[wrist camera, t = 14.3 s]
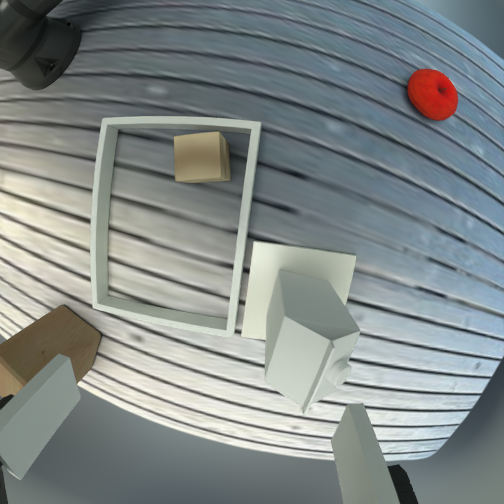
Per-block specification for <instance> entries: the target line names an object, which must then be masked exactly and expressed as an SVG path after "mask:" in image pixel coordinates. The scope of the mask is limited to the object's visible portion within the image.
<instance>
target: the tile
mask: <svg viewBox="0 0 504 504" xmlns="http://www.w3.org/2000/svg"><path fill="white" fill-rule="evenodd" d="M356 257H357V256H356V255H353V254H346V253H340V252H333V251H326V250H319V249H312V248H305V247H298V246H291V245H284V244H277V243H270V242H263V241H256V240H254V245H253V252H252V260H251V267H250V275H249V282H248V290H247V297H246V305H245V312H244V319H243V327H242V334H241V337H247V338H254V339H262V340H266V315H267V311H268V307H269V303H270V300H271V296H272V292H273V288H274V285H275V281H276V277H277V273H278V270H283V271H287V272H291V273H296V274H300V275H305V276H309V277H314V278H318V279H322V280H327V281H329V282H330V284H331V285H332V287H333V288H334V290H335V291H336V293H337V294H338V296H339V297H340V299H341V300H342V302H343V304H344V305H345V306H346V302H347V298H348V294H349V289H350V285H351V280H352V276H353V271H354V267H355V262H356Z"/></svg>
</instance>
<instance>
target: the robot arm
mask: <svg viewBox="0 0 504 504" xmlns="http://www.w3.org/2000/svg"><path fill="white" fill-rule="evenodd" d="M62 1H63V0H0V68H1V69H4V70H7V71H9V72H11V73H12V74H13V75H14V76H15V77H16V78H17V79H18V80H19V81H20V82H21V84H22V85H23V86H25V87H27V88H30V89H33V90H39V89H43V88H45V87H47V86H48V85H50V84H51V83H52V82H54V81H55V80H56V79H57V78H58V77H59V76H60V75H61V74H62V73H63V72H64V70H65V69H66V68H67V67H68V65H69V64H70V62H71V61H72V59H73V57H74V55H75V53H76V51H77V49H78V46H79V43H80V38H81V32H80V28H79V27H78V26H77V25H76V24H75V23H73V22H72V21H70V20H67V19H61V18H55V17H48V16H46V15H47V14H48V13H49V12H50V11H51V10H52V9H53V8H55V7H56V6H57V5H58V4H59V3H60V2H62ZM80 398H81V396H80V393H79V390H78V386H77V383H76V379H75V376H74V372H73V368H72V364H71V360H70V358H69V357H67V356H64V355H61V354H58V355H57V356H55V357H54V358H53V359H52V360H51V361H50V362H49V363H48V364H47V365H46V366H45V367H44V368H43V369H42V370H41V371H40V372H38V373H37V374H36V375H35V376H34V377H33V378H32V379H31V380H30V381H29V382H28V383H27V384H26V385H25V386H24V387H23V388H22V389H21V390H20V391H19V392H18V393H17V394H16V395H15V396H14V395H12V394H10V395H8V396H6V397H4V398H2V399H1V400H0V504H8V501H7V495H6V489H5V483H4V476H3V471H2V468H1V466H2V465H4V466H5V468H6V469H7V470H8V471H9V472H10V473H11V474H13V475H14V476H15V477H17V478H18V479H20V480H21V479H22V478H23V476H24V475H25V473H26V472H27V470H28V469H29V467H30V466H31V465H32V463H33V462H34V460H35V459H36V457H37V456H38V455H39V453H40V452H41V451H42V449H43V448H44V446H45V445H46V444H47V442H48V441H49V440H50V438H51V437H52V435H53V434H54V433H55V431H56V430H57V429H58V427H59V426H60V425H61V423H62V422H63V421H64V419H65V418H66V417H67V415H68V414H69V413H70V411H71V410H72V409H73V408H74V406H75V405H76V404H77V402H78V401H79V400H80ZM331 444H332V448H333V453H334V458H335V462H336V467H337V472H338V477H339V482H340V487H341V492H342V497H343V502H344V504H418V501H417V499H416V496H415V493H414V491H413V488H412V485H411V484H410V480H409V478H408V475H407V473H406V472H405V470H404V469H403V468H402V467H401V466H400V465H399V464H398V465H393V466H387V465H386V462H385V459H384V457H383V454H382V451H381V448H380V446H379V443H378V440H377V438H376V435H375V433H374V430H373V427H372V425H371V422H370V420H369V417H368V415H367V412H366V409H365V407H364V404H363V403H361V404H348V405H347V407H346V409H345V412H344V414H343V416H342V418H341V421H340V423H339V425H338V427H337V429H336V431H335V434H334V436H333V438H332V440H331Z"/></svg>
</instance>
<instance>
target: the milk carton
mask: <svg viewBox="0 0 504 504" xmlns="http://www.w3.org/2000/svg"><path fill="white" fill-rule="evenodd" d="M359 333H360V329H359V327H358V326H357V324H356V322H355V321H354V319H353V318H352V316H351V314H350V313H349V311H348V310H347V308H346V307H345V305H344V304H343V302H342V300H341V299H340V297H339V296H338V294H337V293H336V291H335V290H334V288H333V287H332V285H331V284H330V282H329V281H327V280H322V279H318V278H314V277H309V276H305V275H300V274H296V273H291V272H287V271H283V270H278V273H277V277H276V281H275V285H274V288H273V292H272V296H271V300H270V303H269V307H268V311H267V315H266V348H265V382H266V383H267V384H268V385H270V386H271V387H273V388H274V389H275V390H277V391H278V392H280V393H281V394H283V395H284V396H286V397H287V398H289V399H290V400H292V401H293V402H295V403H296V404H298V405H299V406H301V407H302V410H303V415H306V414H307V412H308V410H309V407H310V405H311V404H312V403H314V402H316V401H318V400H320V399H322V398H324V397H326V396H327V395H329V394H331V393H333V392H334V390H335V388H336V386H339V385H341V384H342V383H343V382H344V381H345V380H346V379H347V377H348V376H349V374H350V372H351V366H350V365H349V364H347V362H348V360H349V358H350V356H351V353H352V351H353V349H354V346H355V344H356V341H357V339H358V336H359Z"/></svg>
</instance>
